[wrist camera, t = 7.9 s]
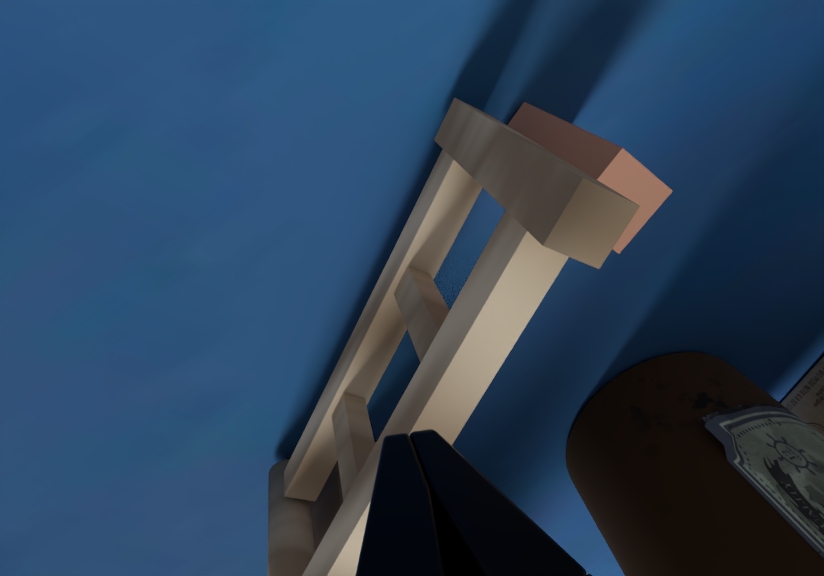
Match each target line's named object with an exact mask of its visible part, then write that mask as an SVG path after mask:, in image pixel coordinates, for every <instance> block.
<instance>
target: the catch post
mask: <svg viewBox="0 0 824 576" xmlns="http://www.w3.org/2000/svg"><path fill="white" fill-rule="evenodd" d="M507 126H509V127H511V128H512V129H514V130H516V131H517V132H519V133H521V134H522V135H524V136H525V137H527V138H529V139H530V140H532V141H534V142H535V143H537V144H539V145H540V146H542V147H544V148H545V149H547V150H549V151H550V152H552V153H554V154H555V155H557V156H558V157H560V158H562V159H563V160H565V161H567V162H568V163H570V164H572V165H573V166H575V167H577V168H578V169H580V170H582V171H583V172H585V173H586V174H588V175H590V176H591V177H593V178H595V179H596V180H598V181H600V182H601V183H603V184H605V185H606V186H608V187H610V188H611V189H613V190H615V191H616V192H618V193H619V194H621V195H623V196H624V197H626V198H628V199H629V200H631V201H633V202H634V203H636V204H638V205H639V206H640V207H639V209H638V210H637V212H636V213H635V215H634V216H633V218H632V219H631V221H630V223H629V224H628V226H627V227H626V229H625V230H624V232H623V233H622V235H621V236H620V238H619V240H618V241H617V243H616V244H615V246H614V247H613V250H614V251H616V252H617V253H618V254H620V252H621V251H622V250H623V249H624V248H625V247H626V245H627V244H628V243H629V242H630V241H631V240H632V238H633V237H634V236H635V235H636V234H637V232H638V231H639V230H640V229H641V228H642V227H643V225H644V224H645V223H646V222H647V221H648V220H649V218H650V217H651V216H652V215H653V214H654V213H655V211H656V210H657V209H658V208H659V207H660V206H661V204H662V203H663V202H664V201H665V200H666V199H667V197H668V196H669V195H670V194H671V193H672V192H673V191H672V190H671V189H670V188H669V187H668V186H666V185H665V184H664V183H663V182H662V181H661V180H659V179H658V178H657V177H656V176H655V175H654V174H652V173H651V172H650V171H649V170H648V169H647V168H646V167H644V166H643V165H642V164H641V163H640V162H639V161H637V160H636V159H635V158H634V157H633V156H632V155H630V154H629V153H628V152H627V151H626V150H625V149H623V148H622V147H620V146H618V145H615V144H613V143H611V142H609V141H607V140H605V139H603V138H601V137H598V136H596V135H594V134H592V133H590V132H588V131H586V130H584V129H581V128H579V127H577V126H575V125H573V124H571V123H569V122H567V121H564V120H562V119H560V118H558V117H556V116H554V115H552V114H550V113H547V112H545V111H543V110H541V109H539V108H537V107H535V106H533V105H530V104H528V103H526V102H524V103H523V104H522V106H521V107H520V108H519V110H518V111H517V112H516V114H515V115H514V117H513V118H512V119H511V121H510V122H509V123H508V125H507Z"/></svg>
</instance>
